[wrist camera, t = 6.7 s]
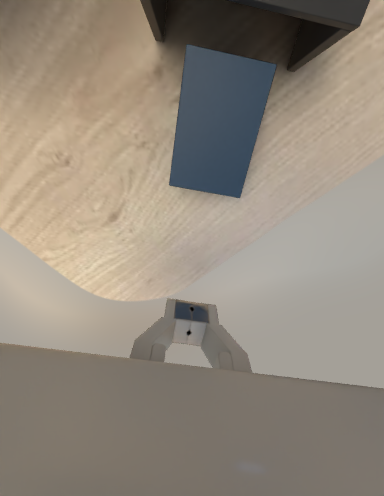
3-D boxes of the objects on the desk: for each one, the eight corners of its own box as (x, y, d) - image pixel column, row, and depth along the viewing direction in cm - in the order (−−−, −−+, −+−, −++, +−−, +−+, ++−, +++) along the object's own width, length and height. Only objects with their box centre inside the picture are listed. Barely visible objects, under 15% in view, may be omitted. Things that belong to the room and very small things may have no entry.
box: (255, 84, 19) (277, 63, 14) (230, 186, 23) (239, 198, 18) (188, 69, 19) (186, 43, 14) (174, 175, 23) (168, 185, 18)
